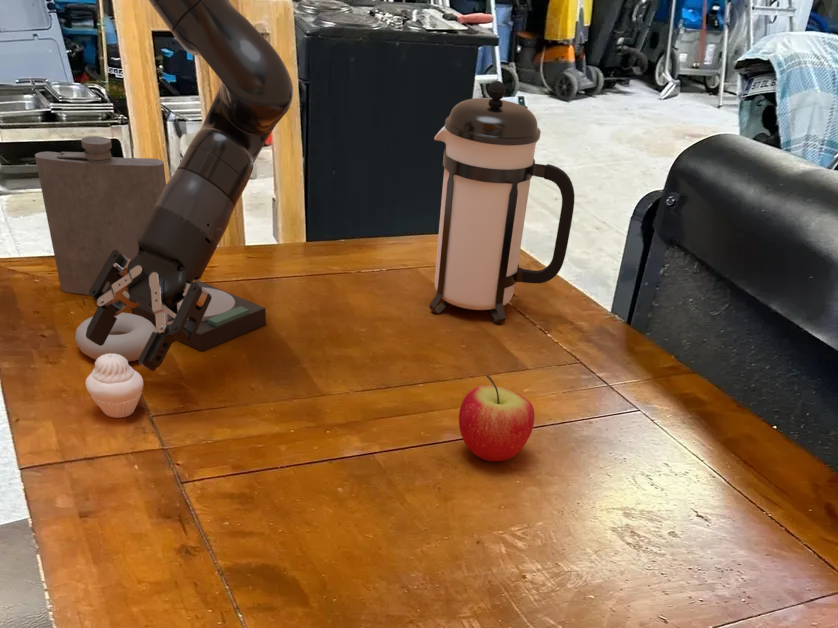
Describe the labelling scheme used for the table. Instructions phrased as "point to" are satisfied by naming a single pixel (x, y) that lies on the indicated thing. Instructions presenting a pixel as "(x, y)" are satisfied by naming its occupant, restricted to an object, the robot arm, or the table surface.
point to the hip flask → (95, 207)
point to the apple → (495, 422)
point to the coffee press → (490, 204)
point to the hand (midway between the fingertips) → (119, 354)
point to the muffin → (114, 385)
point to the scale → (218, 318)
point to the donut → (118, 337)
